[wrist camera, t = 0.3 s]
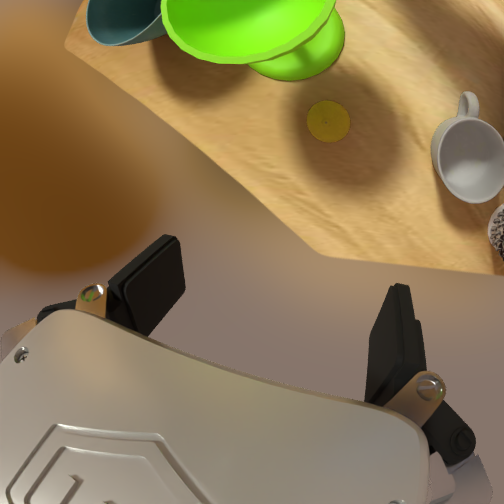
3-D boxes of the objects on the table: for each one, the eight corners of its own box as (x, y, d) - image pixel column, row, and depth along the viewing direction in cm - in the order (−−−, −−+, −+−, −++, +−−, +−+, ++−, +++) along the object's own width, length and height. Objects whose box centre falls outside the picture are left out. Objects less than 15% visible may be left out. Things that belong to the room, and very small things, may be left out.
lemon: (358, 121, 33) (360, 125, 26) (330, 146, 36) (326, 156, 29) (329, 93, 32) (324, 89, 25) (303, 119, 35) (291, 122, 29)
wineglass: (282, -28, 23) (235, -88, 8) (368, 33, 25) (379, -18, 11) (214, 39, 32) (134, 17, 18) (290, 102, 34) (245, 101, 20)
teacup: (476, 194, 30) (497, 214, 24) (416, 175, 33) (430, 192, 27) (491, 108, 23) (517, 111, 16) (429, 83, 26) (447, 79, 19)
